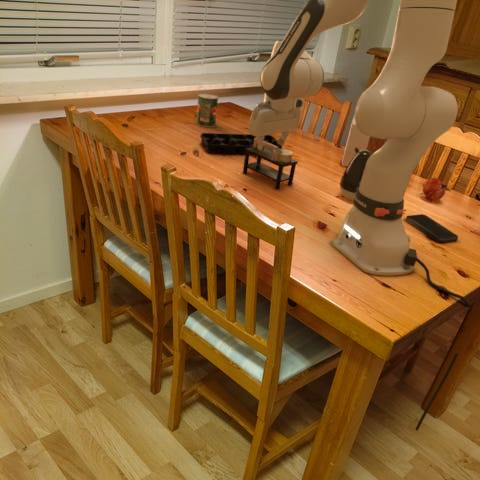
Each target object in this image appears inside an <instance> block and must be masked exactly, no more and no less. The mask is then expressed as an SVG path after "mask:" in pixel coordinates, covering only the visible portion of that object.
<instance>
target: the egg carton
mask: <svg viewBox="0 0 480 480" xmlns="http://www.w3.org/2000/svg"><path fill="white" fill-rule="evenodd" d="M254 138H256V137H255V136H253V135H251V134H249V133H247V134H246V133H219V132H218V133H217V132H215V133H214V132H202V133H200V139H201V142H200V143H201V145H202V146H203V147H204V148H205V151H206V152H207V153H211V154H216V155H217V154H221V153H222V154H224V155H235V154H238V155H242V156H243V155H244V156H245V153H246V151H245V148H250V147H253V144H254ZM263 141H266V142H268V143H270V144H273V145H275V146H277V147H279V148H280V149H283V145H282V146H280V145H278V144H277V143H278V139H276V138H275V137H274V136H273V135H272V134H271V135H265V137H264V139H263ZM266 148H267V147H266ZM268 149H269V148H268ZM270 150H271V149H270Z"/></svg>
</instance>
